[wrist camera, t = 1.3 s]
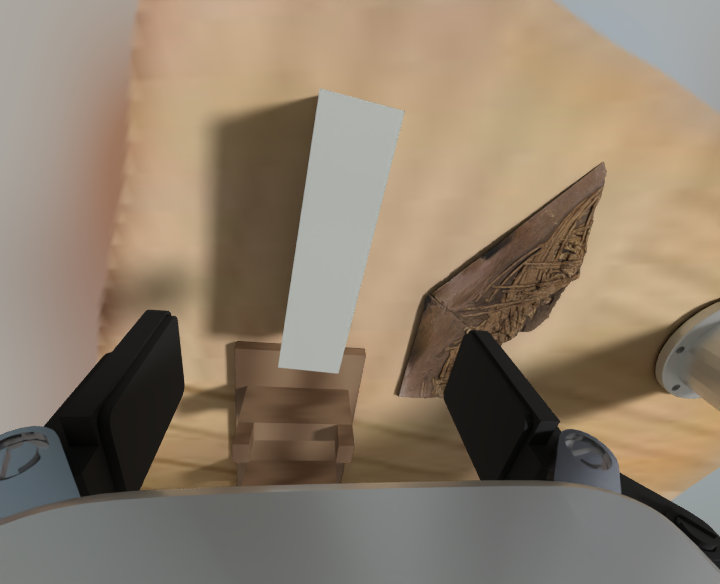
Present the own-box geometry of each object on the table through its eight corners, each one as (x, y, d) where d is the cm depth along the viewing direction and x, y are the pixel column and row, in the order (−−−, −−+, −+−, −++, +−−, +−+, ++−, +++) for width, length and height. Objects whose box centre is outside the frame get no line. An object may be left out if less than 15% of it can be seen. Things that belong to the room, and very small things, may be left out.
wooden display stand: (364, 348, 31) (375, 408, 24) (337, 486, 40) (340, 555, 33) (237, 341, 29) (215, 403, 23) (239, 487, 38) (223, 560, 32)
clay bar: (380, 111, 22) (404, 111, 16) (334, 318, 29) (338, 373, 23) (319, 95, 21) (319, 88, 15) (286, 311, 28) (278, 367, 22)
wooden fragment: (439, 413, 36) (442, 421, 35) (355, 372, 32) (356, 380, 31) (646, 215, 28) (658, 218, 27) (566, 128, 24) (576, 128, 23)
